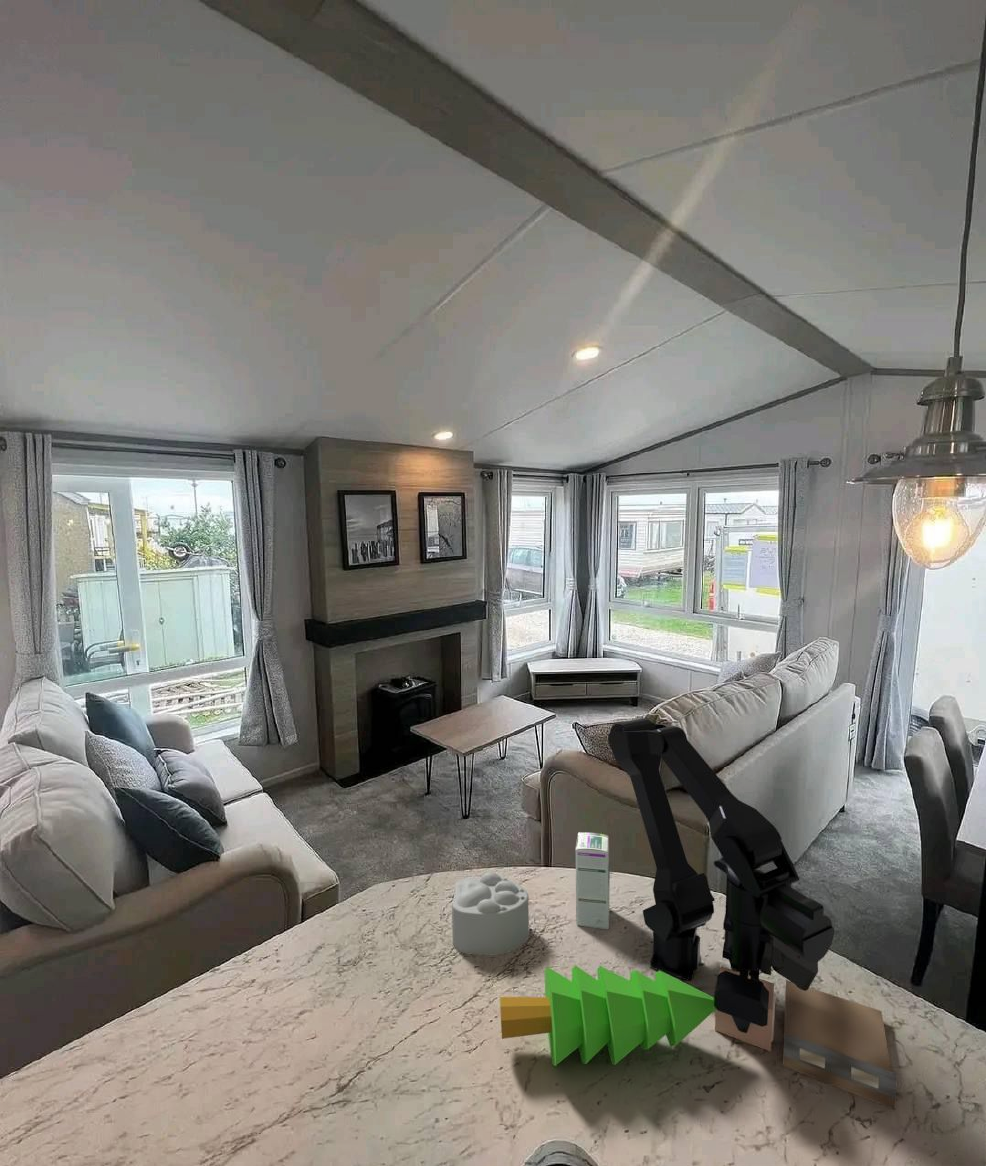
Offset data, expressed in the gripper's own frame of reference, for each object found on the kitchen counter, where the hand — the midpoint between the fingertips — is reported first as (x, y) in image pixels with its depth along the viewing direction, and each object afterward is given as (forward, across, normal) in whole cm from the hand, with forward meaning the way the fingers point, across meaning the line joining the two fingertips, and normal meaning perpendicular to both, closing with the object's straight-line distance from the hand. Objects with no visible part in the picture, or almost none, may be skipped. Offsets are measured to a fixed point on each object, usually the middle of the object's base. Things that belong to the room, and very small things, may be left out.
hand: (744, 1016), depth 80 cm
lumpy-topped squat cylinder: (+2, 0, +40) cm, 40 cm away
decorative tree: (+2, -12, +15) cm, 20 cm away
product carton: (+2, 0, 0) cm, 2 cm away
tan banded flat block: (+2, +3, -11) cm, 12 cm away
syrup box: (+2, +12, +26) cm, 29 cm away
